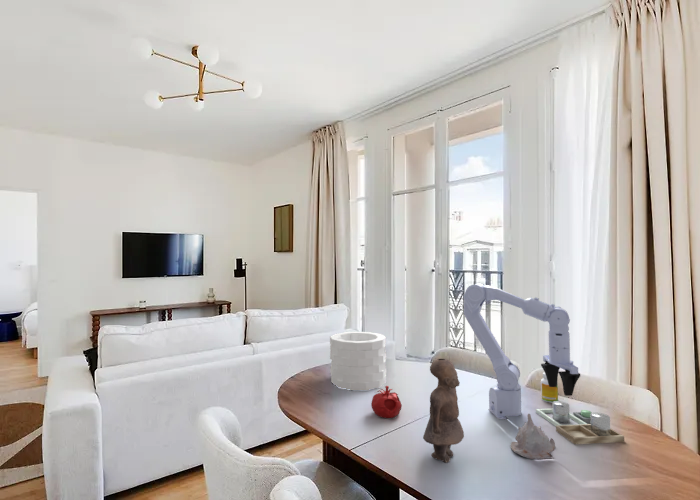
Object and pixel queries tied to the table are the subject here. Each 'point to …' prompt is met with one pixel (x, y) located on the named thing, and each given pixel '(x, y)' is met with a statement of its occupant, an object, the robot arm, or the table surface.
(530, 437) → the seashell
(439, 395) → the clay figurine
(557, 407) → the billet
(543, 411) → the pale green tray
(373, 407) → the pomegranate
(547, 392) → the supplement bottle
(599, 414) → the cylinder
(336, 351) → the basket
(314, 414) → the table surface
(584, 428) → the divided tray
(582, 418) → the frame
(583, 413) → the button
